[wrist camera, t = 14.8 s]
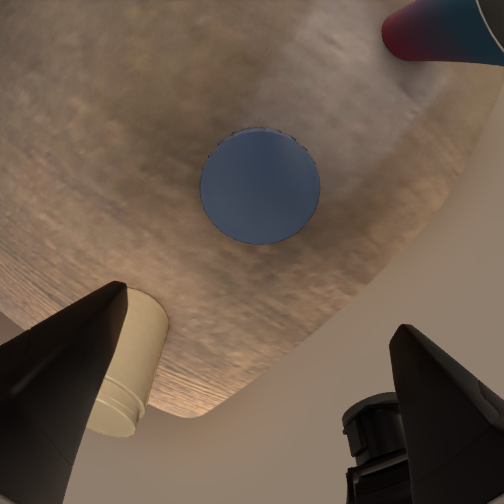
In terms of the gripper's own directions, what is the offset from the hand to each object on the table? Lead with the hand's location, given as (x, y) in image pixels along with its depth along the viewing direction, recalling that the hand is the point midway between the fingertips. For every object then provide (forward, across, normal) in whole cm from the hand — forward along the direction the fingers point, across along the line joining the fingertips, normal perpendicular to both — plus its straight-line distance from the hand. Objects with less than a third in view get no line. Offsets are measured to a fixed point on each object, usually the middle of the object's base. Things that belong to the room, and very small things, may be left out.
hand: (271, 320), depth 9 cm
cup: (+11, -7, -13) cm, 19 cm away
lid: (+10, 0, -1) cm, 10 cm away
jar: (+11, +8, +12) cm, 18 cm away
